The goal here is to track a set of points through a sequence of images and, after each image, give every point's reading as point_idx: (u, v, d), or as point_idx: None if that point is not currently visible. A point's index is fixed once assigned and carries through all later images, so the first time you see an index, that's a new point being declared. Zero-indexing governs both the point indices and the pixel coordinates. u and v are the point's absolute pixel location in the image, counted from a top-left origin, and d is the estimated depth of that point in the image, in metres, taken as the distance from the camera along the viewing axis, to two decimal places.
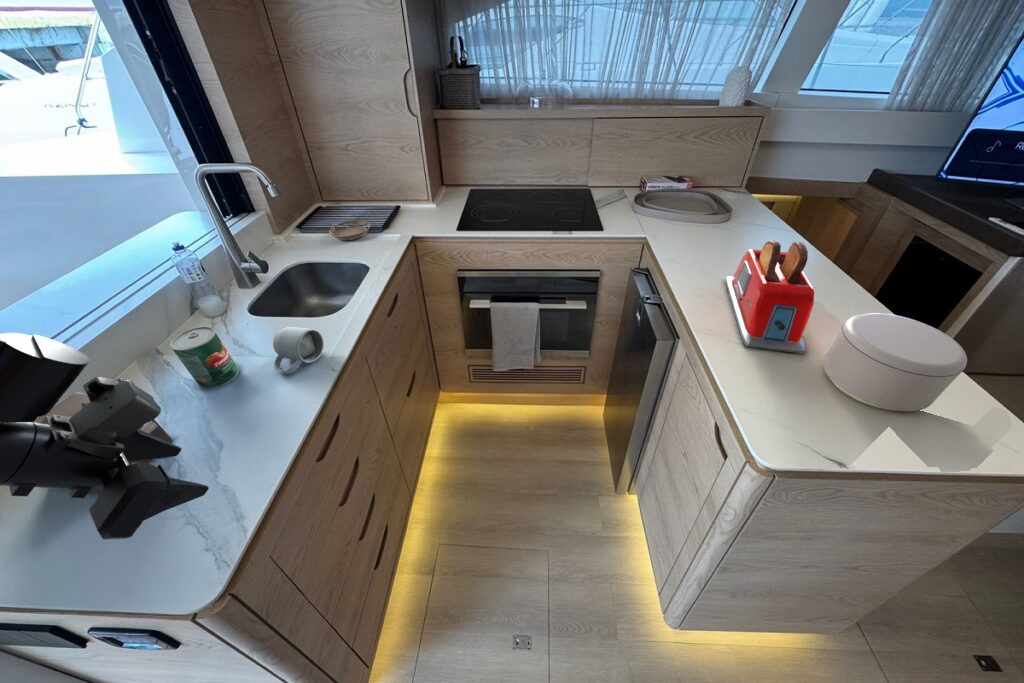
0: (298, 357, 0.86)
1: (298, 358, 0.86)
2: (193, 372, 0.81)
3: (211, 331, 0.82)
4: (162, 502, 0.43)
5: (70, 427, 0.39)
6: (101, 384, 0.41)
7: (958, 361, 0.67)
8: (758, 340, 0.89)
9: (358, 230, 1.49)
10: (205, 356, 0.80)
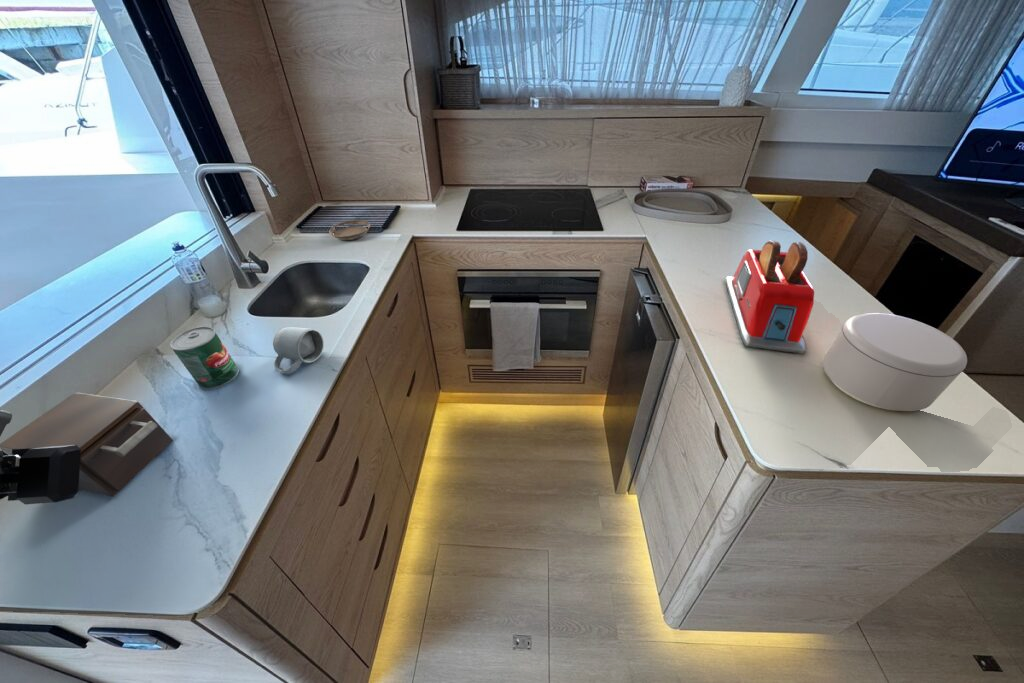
0: (298, 357, 0.86)
1: (298, 358, 0.86)
2: (193, 372, 0.81)
3: (211, 331, 0.82)
4: None
5: None
6: None
7: (958, 361, 0.67)
8: (758, 340, 0.89)
9: (358, 230, 1.49)
10: (205, 356, 0.80)
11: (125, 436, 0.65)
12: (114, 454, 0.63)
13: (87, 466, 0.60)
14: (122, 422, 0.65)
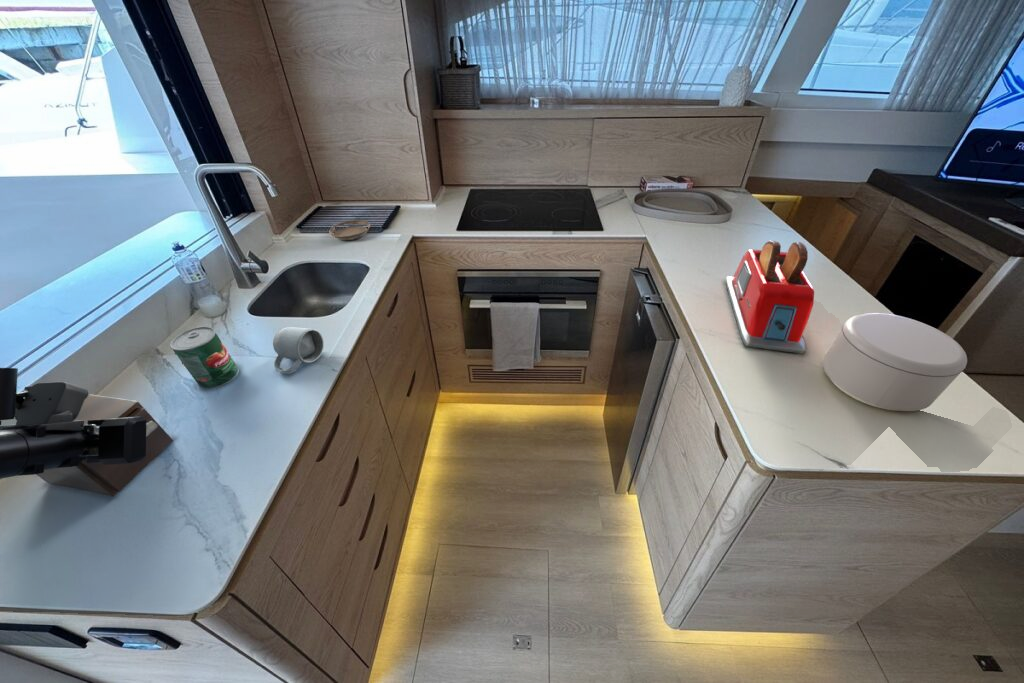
0: (298, 357, 0.86)
1: (298, 358, 0.86)
2: (193, 372, 0.81)
3: (211, 331, 0.82)
4: None
5: (28, 425, 0.50)
6: (18, 394, 0.51)
7: (958, 361, 0.67)
8: (758, 340, 0.89)
9: (358, 230, 1.49)
10: (205, 356, 0.80)
11: None
12: None
13: (87, 466, 0.60)
14: None
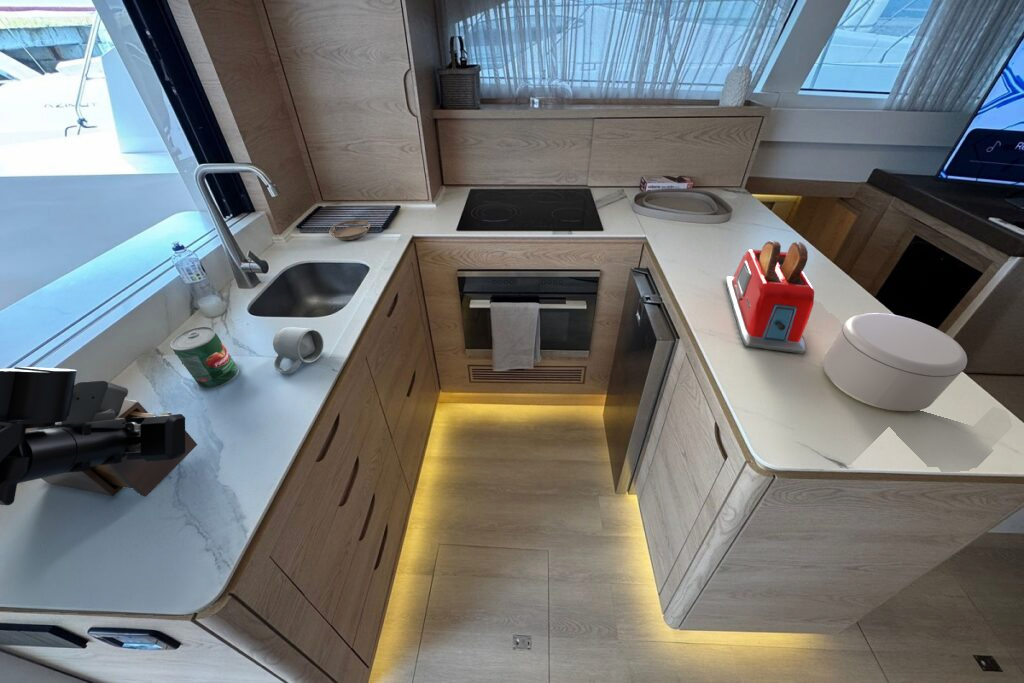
0: (298, 357, 0.86)
1: (298, 358, 0.86)
2: (193, 372, 0.81)
3: (211, 331, 0.82)
4: None
5: (73, 423, 0.51)
6: None
7: (958, 361, 0.67)
8: (758, 340, 0.89)
9: (358, 230, 1.49)
10: (205, 356, 0.80)
11: None
12: (141, 459, 0.62)
13: (116, 471, 0.59)
14: None
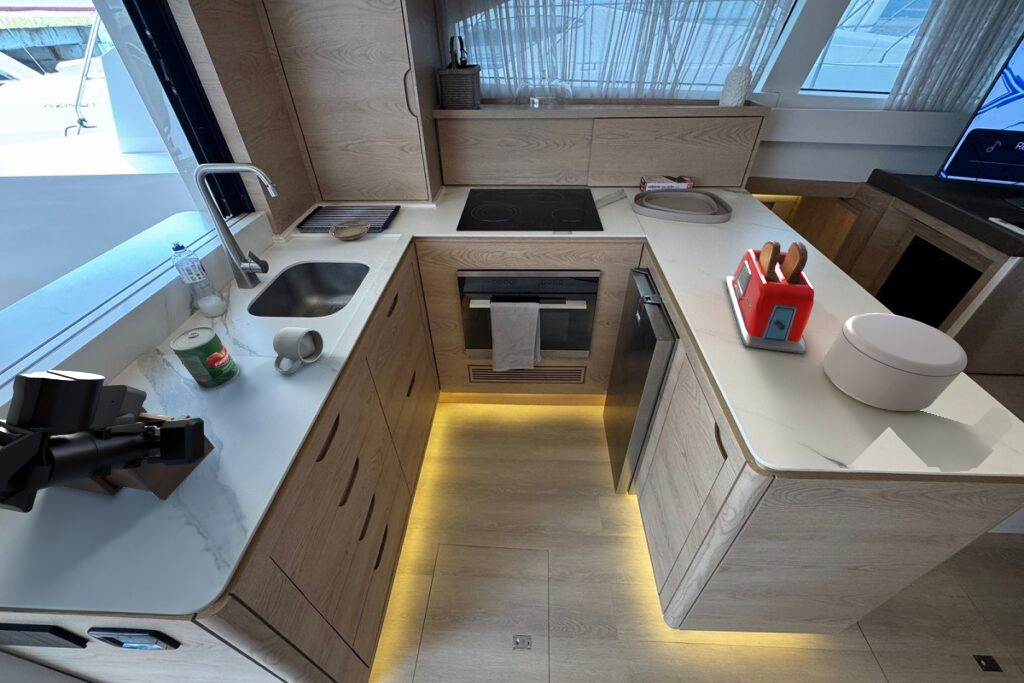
0: (298, 357, 0.86)
1: (298, 358, 0.86)
2: (193, 372, 0.81)
3: (211, 331, 0.82)
4: None
5: (93, 428, 0.50)
6: None
7: (958, 361, 0.67)
8: (758, 340, 0.89)
9: (358, 230, 1.49)
10: (205, 356, 0.80)
11: None
12: None
13: (136, 475, 0.59)
14: None
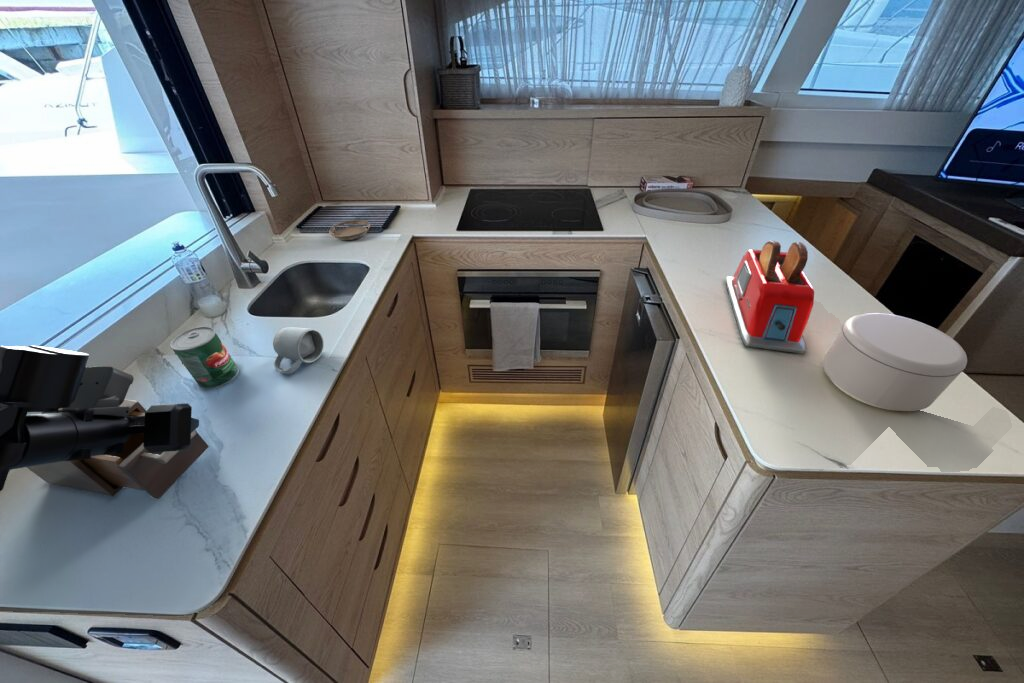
0: (298, 357, 0.86)
1: (298, 358, 0.86)
2: (193, 372, 0.81)
3: (211, 331, 0.82)
4: None
5: (75, 409, 0.48)
6: None
7: (958, 361, 0.67)
8: (758, 340, 0.89)
9: (358, 230, 1.49)
10: (205, 356, 0.80)
11: None
12: (154, 461, 0.62)
13: (129, 474, 0.59)
14: None
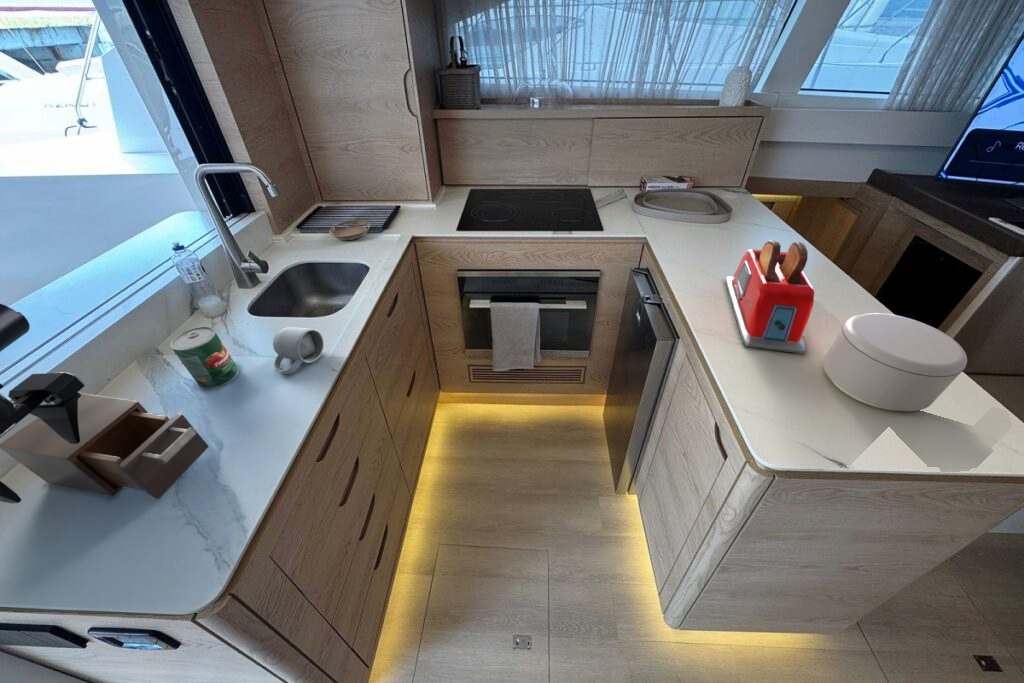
0: (298, 357, 0.86)
1: (298, 358, 0.86)
2: (193, 372, 0.81)
3: (211, 331, 0.82)
4: None
5: None
6: None
7: (958, 361, 0.67)
8: (758, 340, 0.89)
9: (358, 230, 1.49)
10: (205, 356, 0.80)
11: (165, 443, 0.63)
12: (154, 461, 0.62)
13: (129, 474, 0.59)
14: (161, 428, 0.63)
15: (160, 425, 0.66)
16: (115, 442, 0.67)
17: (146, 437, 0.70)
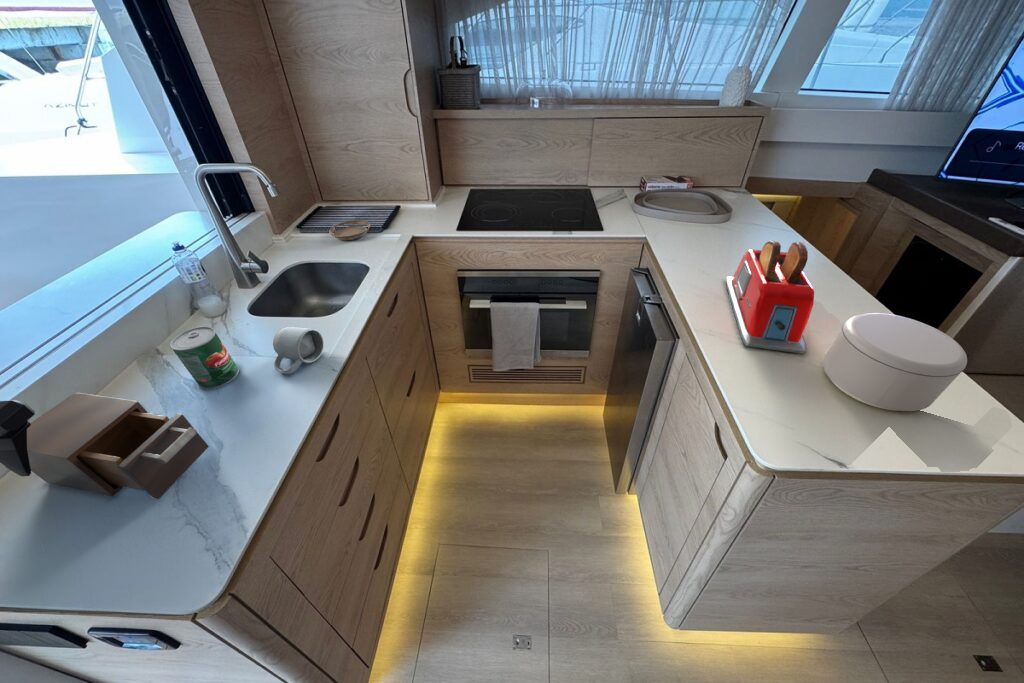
0: (298, 357, 0.86)
1: (298, 358, 0.86)
2: (193, 372, 0.81)
3: (211, 331, 0.82)
4: None
5: None
6: None
7: (958, 361, 0.67)
8: (758, 340, 0.89)
9: (358, 230, 1.49)
10: (205, 356, 0.80)
11: (165, 443, 0.63)
12: (154, 461, 0.62)
13: (129, 474, 0.59)
14: (161, 428, 0.63)
15: (160, 425, 0.66)
16: (115, 442, 0.67)
17: (146, 437, 0.70)
